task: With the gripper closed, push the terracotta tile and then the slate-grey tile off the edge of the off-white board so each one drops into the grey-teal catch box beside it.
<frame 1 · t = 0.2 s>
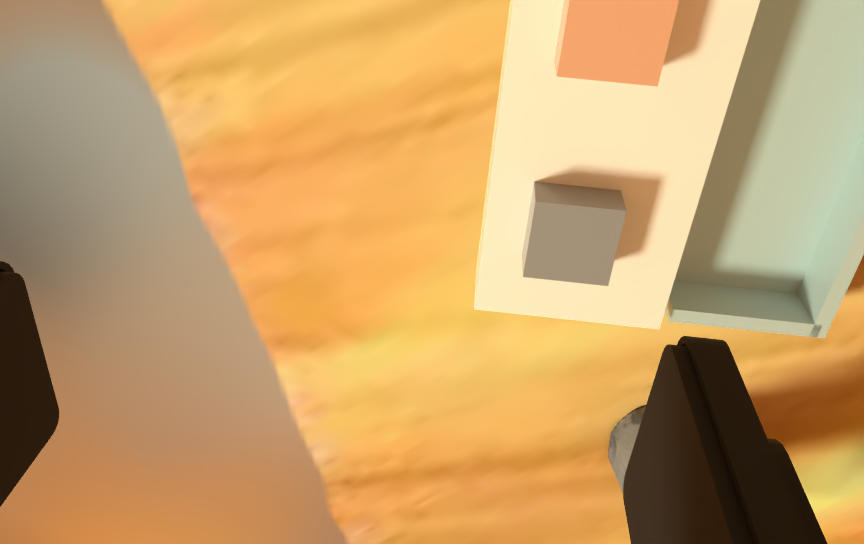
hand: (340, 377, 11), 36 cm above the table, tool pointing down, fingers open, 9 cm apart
moka pot: (664, 442, 60), on the table
board: (597, 99, 44), on the table
catch box: (790, 118, 44), on the table
slate tile: (569, 223, 44), point 5 cm above the table, touching board
terracotta tile: (611, 17, 37), point 5 cm above the table, touching board
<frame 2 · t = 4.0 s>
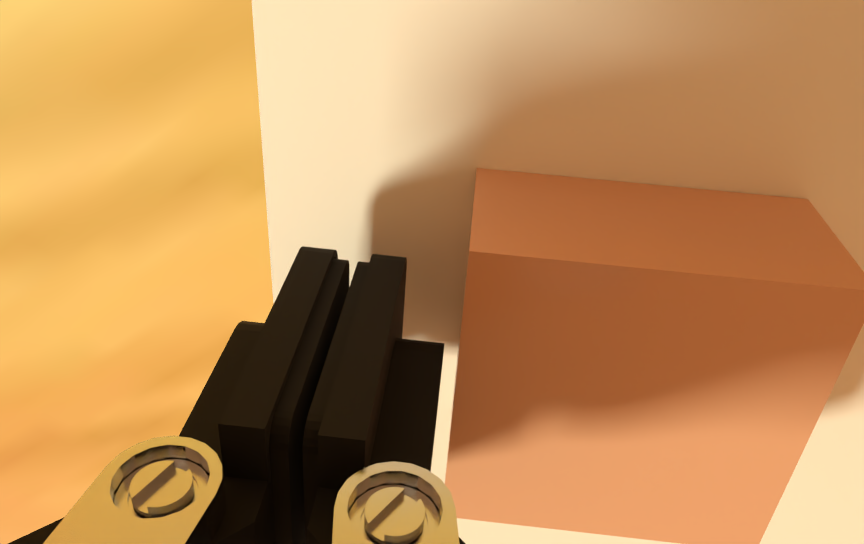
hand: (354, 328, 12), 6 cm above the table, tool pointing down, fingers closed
board: (552, 385, 20), on the table
terracotta tile: (609, 316, 12), point 5 cm above the table, touching gripper
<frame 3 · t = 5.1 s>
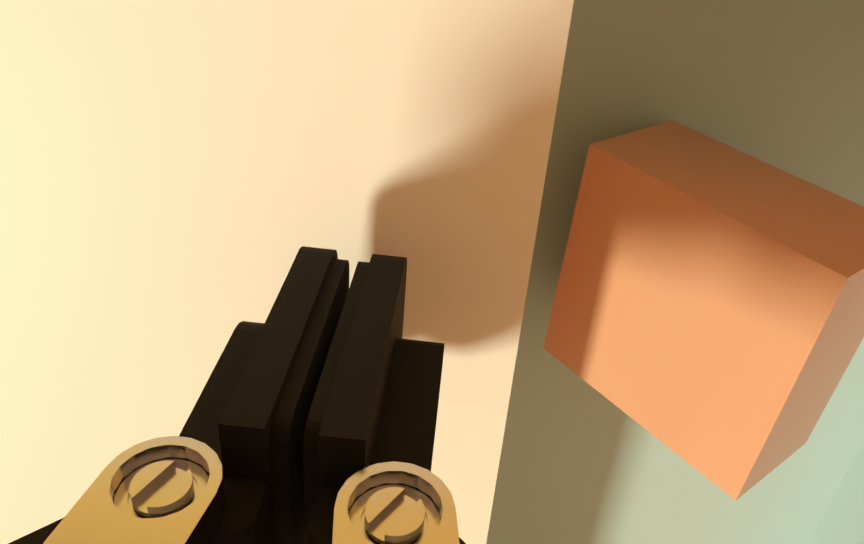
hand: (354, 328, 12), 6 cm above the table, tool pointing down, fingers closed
board: (274, 357, 20), on the table
catch box: (698, 401, 20), on the table
terracotta tile: (662, 320, 14), point 4 cm above the table, tilted 133°, touching catch box
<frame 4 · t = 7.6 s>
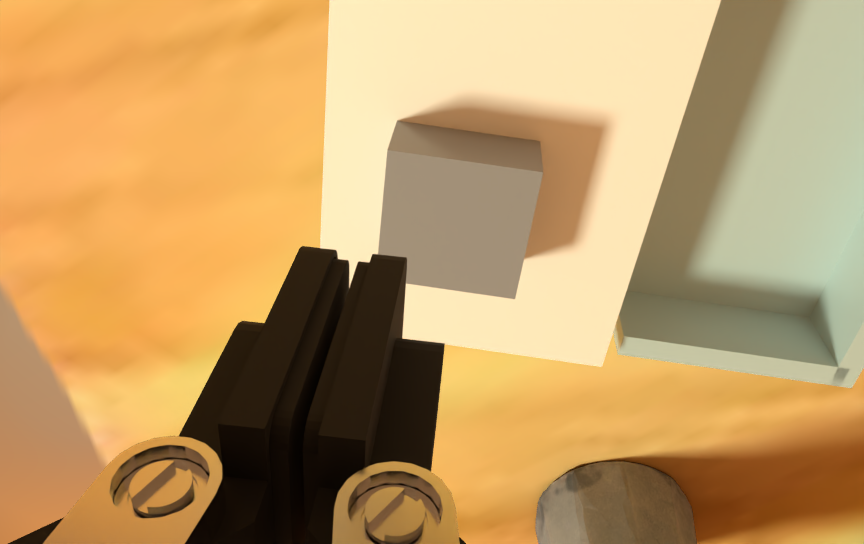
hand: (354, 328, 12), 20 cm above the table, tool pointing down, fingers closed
moka pot: (613, 512, 43), on the table
catch box: (819, 40, 27), on the table
slate tile: (458, 194, 27), point 5 cm above the table, touching board
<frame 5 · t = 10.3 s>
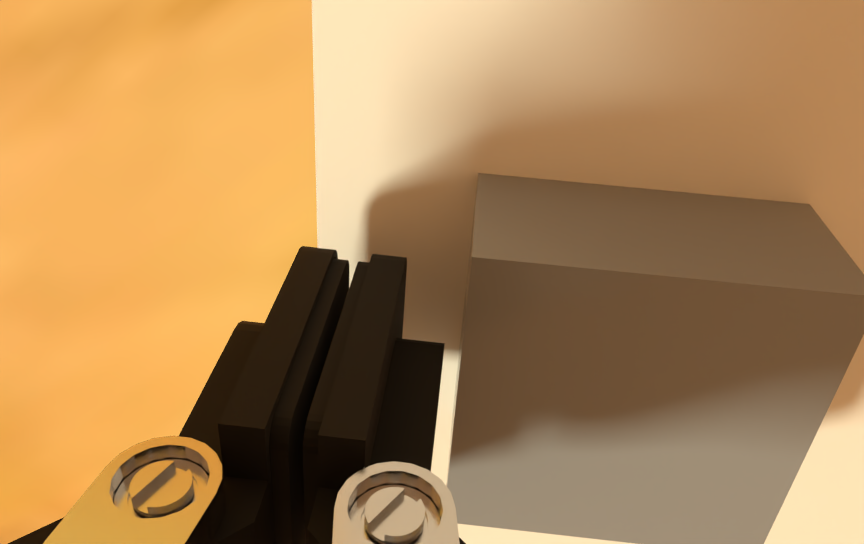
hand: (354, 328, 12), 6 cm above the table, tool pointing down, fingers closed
slate tile: (610, 321, 12), point 5 cm above the table, touching gripper
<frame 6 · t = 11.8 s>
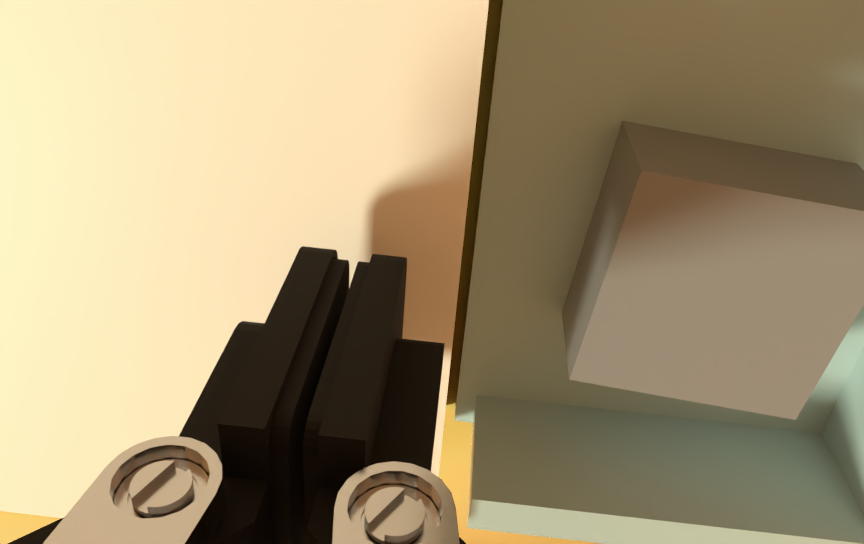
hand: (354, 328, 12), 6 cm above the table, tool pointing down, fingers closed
slate tile: (725, 307, 14), point 3 cm above the table, tilted 180°, touching catch box
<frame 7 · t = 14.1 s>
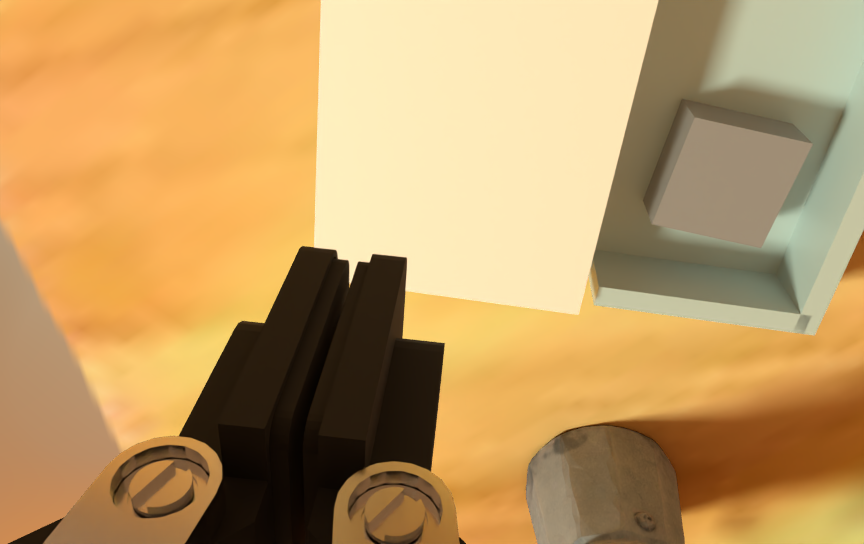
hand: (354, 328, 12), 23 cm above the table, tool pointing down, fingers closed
moka pot: (601, 480, 45), on the table
catch box: (769, 7, 30), on the table
slate tile: (729, 185, 31), point 3 cm above the table, tilted 180°, touching catch box
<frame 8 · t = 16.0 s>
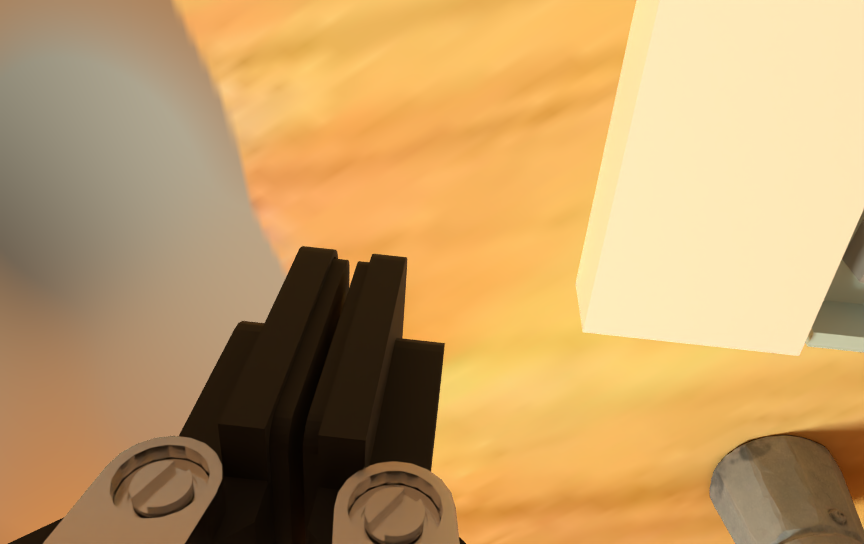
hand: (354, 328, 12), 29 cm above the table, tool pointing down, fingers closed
moka pot: (773, 479, 53), on the table
board: (735, 87, 38), on the table
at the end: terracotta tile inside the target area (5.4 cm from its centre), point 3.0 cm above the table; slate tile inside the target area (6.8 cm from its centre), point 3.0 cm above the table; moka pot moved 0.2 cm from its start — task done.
